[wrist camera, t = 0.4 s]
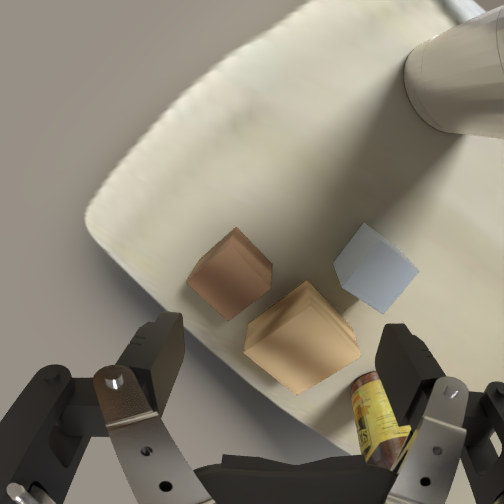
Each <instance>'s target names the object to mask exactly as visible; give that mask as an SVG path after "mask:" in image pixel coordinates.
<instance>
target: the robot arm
mask: <svg viewBox="0 0 504 504" xmlns="http://www.w3.org/2000/svg"><path fill="white" fill-rule="evenodd" d="M404 83H405V88H406V92H407V95H408V97H409V100H410V102H411V104H412V105H413V107H414V109H415V110H416V112H417V113H418V114H419V115H420V116H421V118H422V119H423V120H424V121H426V122H427V123H428V124H429V125H430V126H432V127H434V128H436V129H437V130H440V131H443V132H446V133H457V134H467V135H475V136H483V137H492V138H499V139H504V5H502V6H500V7H497V8H495V9H493V10H490V11H488V12H486V13H483V14H481V15H479V16H477V17H475V18H472V19H470V20H468V21H466V22H464V23H462V24H460V25H458V26H456V27H454V28H452V29H450V30H448V31H446V32H444V33H442V34H440V35H437V36H435V37H434V38H432V39H430V40H428V41H426V42H424V43H422V44H421V45H419V46H418V47H416V48H415V49H413V51H412V52H411V53H410V54H409V56H408V58H407V61H406V63H405V69H404ZM184 352H185V343H184V331H183V317H182V314H181V313H176V312H167V311H162V312H161V314H160V315H159V317H158V318H157V320H156V322H155V323H154V322H148V323H146V324H145V325H143V326H142V327H140V328H139V329H138V331H137V332H136V334H135V335H134V337H133V338H132V340H131V341H130V344H128V346H127V347H126V349H125V350H124V352H123V353H122V355H121V356H120V358H119V360H118V361H117V363H116V364H115V365H109V366H105V367H103V368H101V369H100V370H98V371H97V372H96V373H95V375H94V377H93V378H72V376H71V373H70V371H69V370H68V368H66V367H64V366H62V365H48V366H46V367H43V368H42V369H40V370H39V371H38V372H37V373H36V374H35V375H34V377H33V378H32V380H31V381H30V382H29V383H28V385H27V386H26V387H25V389H24V390H23V391H22V393H21V394H20V395H19V397H18V398H17V399H16V401H15V402H14V404H13V405H12V406H11V408H10V409H9V410H8V412H7V413H6V415H5V416H4V418H3V419H2V420H1V422H0V504H63V502H64V500H65V497H66V495H67V492H68V490H69V487H70V485H71V482H72V480H73V478H74V475H75V473H76V470H77V468H78V466H79V463H80V461H81V459H82V456H83V454H84V452H85V449H86V447H87V445H88V443H89V441H90V438H91V437H110V439H111V442H112V444H113V447H114V450H115V452H116V455H117V457H118V460H119V462H120V464H121V467H122V469H123V472H124V474H125V476H126V478H127V480H128V483H129V485H130V487H131V489H132V491H133V494H134V496H135V498H136V500H137V502H138V504H445V502H446V499H447V497H448V494H449V491H450V488H451V485H452V482H453V479H454V476H455V473H456V469H457V466H458V463H459V460H460V458H461V461H462V463H463V466H464V469H465V472H466V475H467V477H468V480H469V483H470V485H471V489H472V492H473V495H474V498H475V501H476V504H504V383H502V382H491V383H489V384H488V386H487V387H486V389H485V391H484V393H482V392H470V391H469V390H468V388H467V386H466V385H465V384H464V383H463V382H462V381H461V380H459V379H457V378H454V377H447V376H446V375H445V373H444V372H443V370H442V369H441V367H440V366H439V364H438V363H437V361H436V360H435V358H434V357H433V355H432V354H431V352H430V351H429V349H428V348H427V346H426V345H425V343H424V342H423V341H422V340H421V339H419V338H418V337H417V336H415V335H412V334H411V332H410V331H409V330H408V328H407V327H406V325H405V324H403V323H401V324H386V325H385V327H384V329H383V333H382V336H381V340H380V343H379V346H378V350H377V353H376V357H375V368H376V371H377V373H378V376H379V378H380V381H381V383H382V385H383V388H384V390H385V393H386V395H387V398H388V400H389V403H390V406H391V408H392V411H393V413H394V416H395V419H396V421H397V424H398V426H399V427H401V426H408V425H410V427H411V430H410V432H409V433H408V435H407V437H406V439H405V442H404V444H403V446H402V448H401V450H400V452H399V454H398V456H397V458H396V460H395V461H394V463H393V465H392V467H391V469H390V470H388V469H386V468H383V467H380V466H377V465H372V464H366V460H365V456H364V454H363V455H353V456H340V457H330V458H326V459H322V460H318V461H315V462H310V463H306V464H301V465H290V464H286V463H282V462H277V461H273V460H268V459H264V458H260V457H248V456H236V455H225V454H223V457H222V463H221V464H214V465H208V466H204V467H201V468H197V469H195V470H192V469H191V467H190V466H189V464H188V463H187V461H186V460H185V458H184V456H183V455H182V453H181V452H180V450H179V448H178V447H177V445H176V444H175V442H174V440H173V439H172V437H171V435H170V434H169V432H168V430H167V428H166V427H165V425H164V423H163V421H162V420H161V417H162V414H163V412H164V409H165V406H166V403H167V401H168V398H169V396H170V393H171V391H172V387H173V385H174V383H175V380H176V377H177V375H178V372H179V370H180V367H181V364H182V362H183V358H184ZM495 431H496V433H497V435H498V437H499V439H500V441H501V443H502V452H501V455H500V457H498V455H497V453H496V451H495V448H494V446H493V444H492V442H491V440H490V437H491V436H492V434H493V433H494V432H495Z"/></svg>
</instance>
